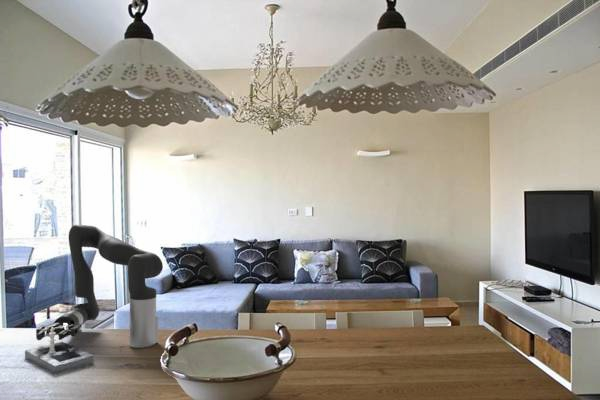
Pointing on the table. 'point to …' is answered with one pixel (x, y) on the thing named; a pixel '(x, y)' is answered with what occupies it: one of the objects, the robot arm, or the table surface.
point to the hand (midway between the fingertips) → (49, 336)
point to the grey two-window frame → (59, 357)
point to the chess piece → (52, 341)
